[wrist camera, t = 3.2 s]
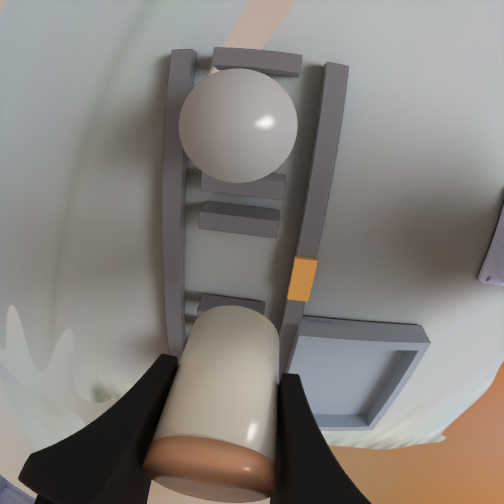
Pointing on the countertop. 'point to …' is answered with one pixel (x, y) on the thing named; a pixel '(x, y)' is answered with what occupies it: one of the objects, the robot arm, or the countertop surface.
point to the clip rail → (246, 192)
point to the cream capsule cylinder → (238, 125)
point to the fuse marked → (221, 411)
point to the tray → (354, 368)
